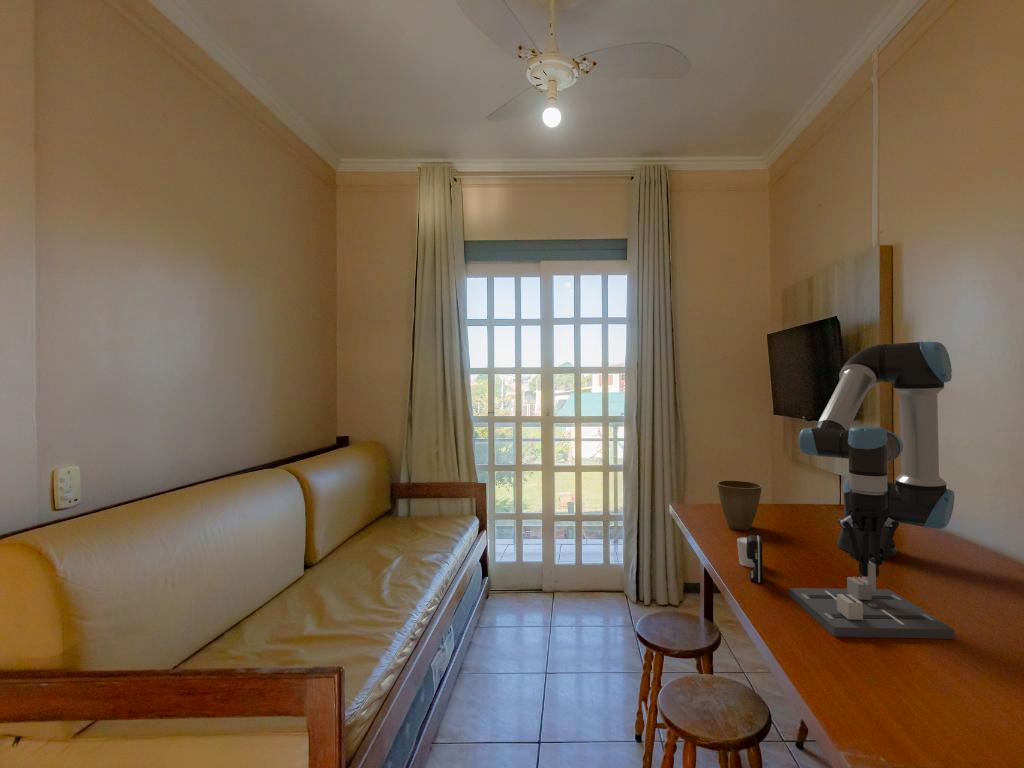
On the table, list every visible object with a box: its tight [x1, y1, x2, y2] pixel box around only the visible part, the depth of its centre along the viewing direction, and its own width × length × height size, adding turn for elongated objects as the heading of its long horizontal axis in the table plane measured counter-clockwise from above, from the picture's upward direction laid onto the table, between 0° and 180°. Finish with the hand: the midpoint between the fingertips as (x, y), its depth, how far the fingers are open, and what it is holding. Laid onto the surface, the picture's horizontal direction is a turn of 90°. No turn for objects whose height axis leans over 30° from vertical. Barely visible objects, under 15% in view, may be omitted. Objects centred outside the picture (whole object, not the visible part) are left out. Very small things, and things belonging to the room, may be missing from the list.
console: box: [788, 587, 955, 640], centre depth 115 cm, size 24×20×3 cm
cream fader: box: [837, 593, 863, 620], centre depth 111 cm, size 3×4×4 cm
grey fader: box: [846, 575, 872, 600], centre depth 120 cm, size 3×4×4 cm
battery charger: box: [746, 534, 764, 584], centre depth 137 cm, size 7×4×11 cm, turn 156°
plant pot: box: [717, 480, 763, 531], centre depth 184 cm, size 15×15×16 cm
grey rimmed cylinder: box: [736, 536, 755, 568], centre depth 148 cm, size 7×7×7 cm
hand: (869, 589), depth 120 cm, fingers closed
